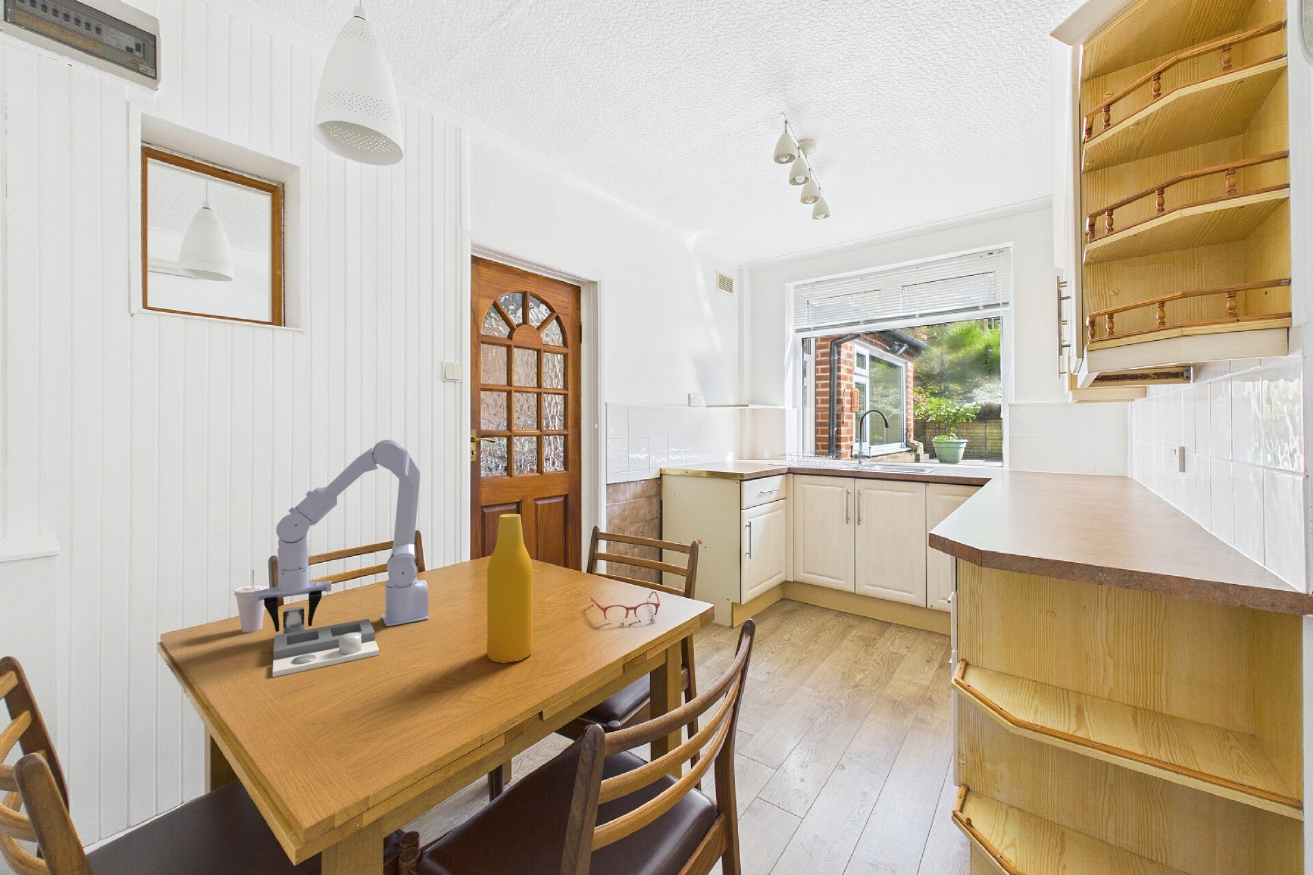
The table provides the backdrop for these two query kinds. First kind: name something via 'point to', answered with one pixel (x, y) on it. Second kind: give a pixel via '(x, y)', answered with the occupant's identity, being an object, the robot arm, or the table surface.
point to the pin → (293, 619)
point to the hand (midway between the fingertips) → (293, 627)
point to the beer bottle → (509, 594)
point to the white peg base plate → (328, 655)
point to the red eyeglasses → (628, 607)
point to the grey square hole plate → (319, 638)
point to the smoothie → (250, 607)
